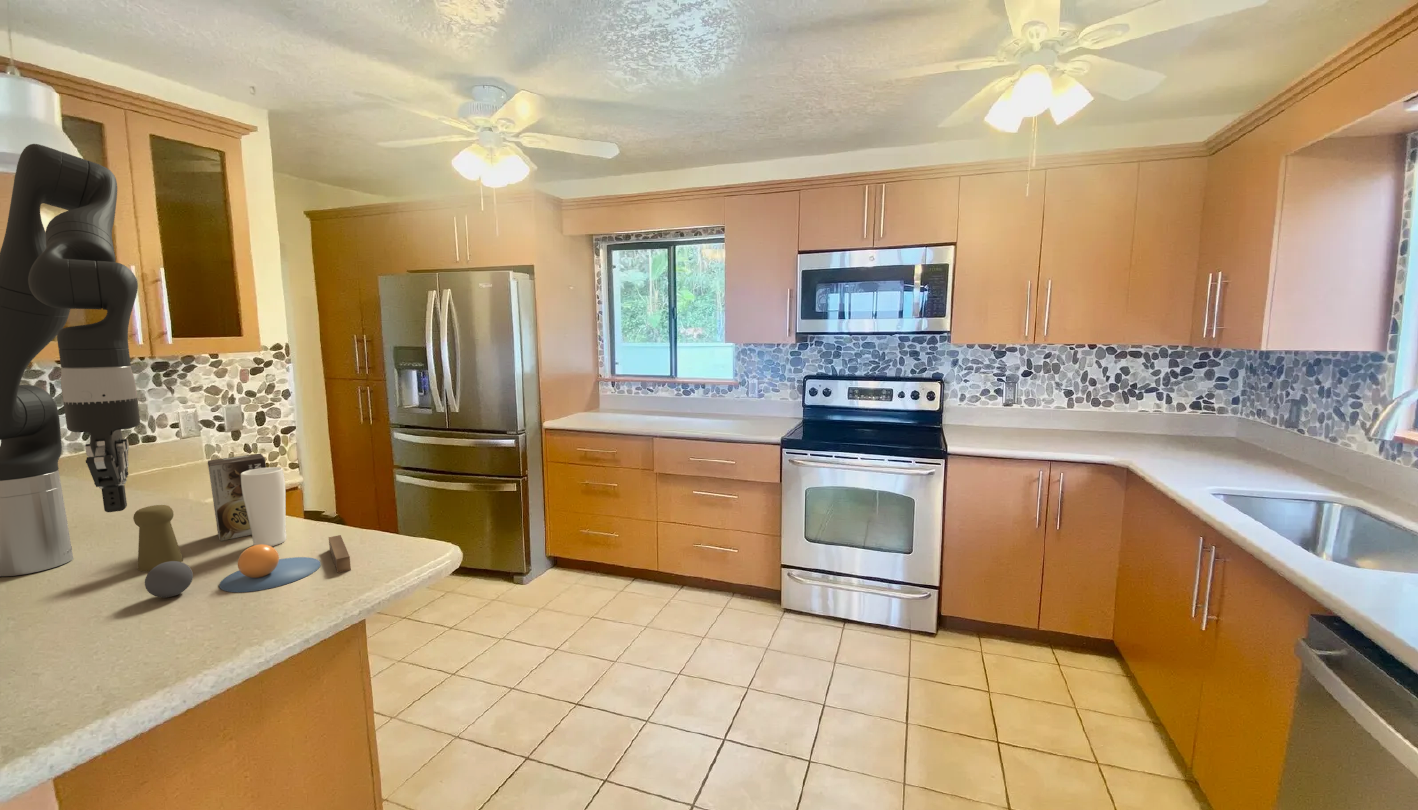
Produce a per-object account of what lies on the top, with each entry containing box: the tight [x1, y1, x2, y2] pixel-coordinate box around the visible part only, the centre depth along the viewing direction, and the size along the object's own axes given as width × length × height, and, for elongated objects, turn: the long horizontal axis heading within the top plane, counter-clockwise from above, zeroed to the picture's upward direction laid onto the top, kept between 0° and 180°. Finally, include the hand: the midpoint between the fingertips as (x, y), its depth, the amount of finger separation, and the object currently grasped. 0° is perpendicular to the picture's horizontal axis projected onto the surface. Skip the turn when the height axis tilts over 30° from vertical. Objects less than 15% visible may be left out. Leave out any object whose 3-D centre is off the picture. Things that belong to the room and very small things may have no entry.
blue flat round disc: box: [219, 556, 321, 593], centre depth 99 cm, size 14×14×1 cm
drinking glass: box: [241, 466, 287, 547], centre depth 113 cm, size 7×7×15 cm
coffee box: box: [207, 453, 267, 542], centre depth 120 cm, size 9×6×16 cm
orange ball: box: [237, 544, 280, 578], centre depth 98 cm, size 6×6×6 cm
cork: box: [132, 504, 184, 572], centre depth 103 cm, size 6×6×11 cm
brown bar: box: [328, 534, 352, 574], centre depth 105 cm, size 2×14×2 cm, turn 38°
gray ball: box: [144, 561, 194, 599], centre depth 91 cm, size 6×6×6 cm
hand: (116, 510), depth 86 cm, fingers closed
